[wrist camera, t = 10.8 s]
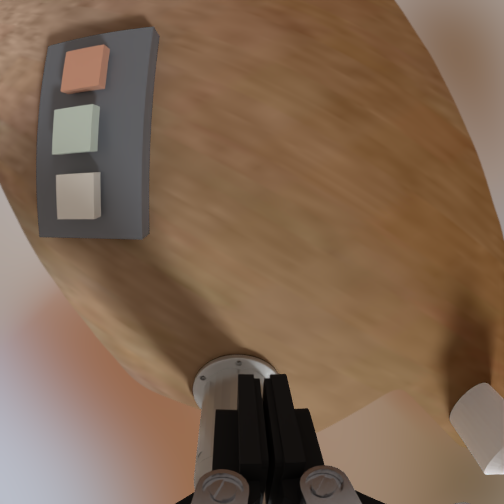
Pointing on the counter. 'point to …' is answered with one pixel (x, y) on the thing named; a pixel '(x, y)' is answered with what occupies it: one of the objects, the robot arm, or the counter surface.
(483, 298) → the counter surface
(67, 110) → the sage key
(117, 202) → the keypad
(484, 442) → the bottle
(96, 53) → the terracotta key
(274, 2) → the counter surface
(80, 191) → the cream key
